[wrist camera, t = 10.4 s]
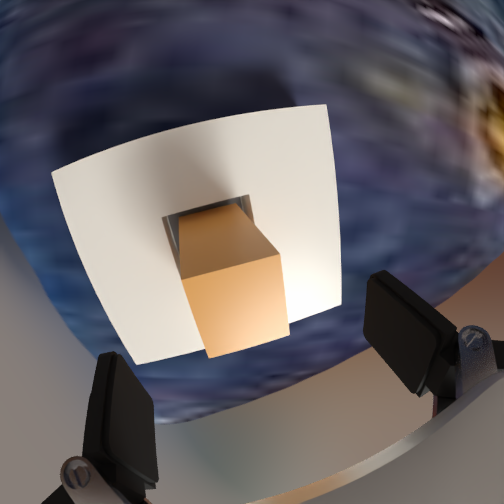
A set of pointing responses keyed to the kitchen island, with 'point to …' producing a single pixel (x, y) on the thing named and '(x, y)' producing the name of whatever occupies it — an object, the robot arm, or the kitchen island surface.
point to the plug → (231, 280)
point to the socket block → (196, 200)
